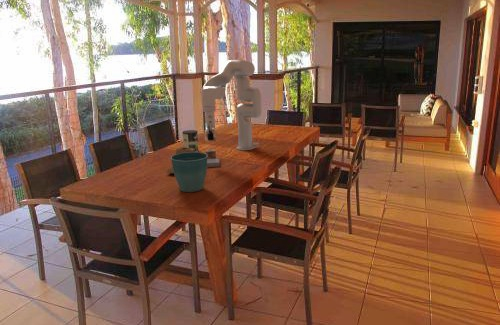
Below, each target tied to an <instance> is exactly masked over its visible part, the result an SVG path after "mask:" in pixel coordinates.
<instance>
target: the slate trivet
mask: <svg viewBox="0 0 500 325" xmlns="http://www.w3.org/2000/svg"><path fill="white" fill-rule="evenodd" d="M220 164H221V162H220V159H219V158H217V157H216V159H207V168H210V167H211V168H214V167H216V168H217V167H221V165H220Z"/></svg>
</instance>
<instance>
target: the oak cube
mask: <svg viewBox="0 0 500 325" xmlns="http://www.w3.org/2000/svg"><path fill="white" fill-rule="evenodd" d="M216 134H217V132H216V128H213V138H214V140H208V130H207V129H204V140H205V142H216V141H217V137H216V136H217V135H216Z"/></svg>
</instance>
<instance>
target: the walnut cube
mask: <svg viewBox="0 0 500 325" xmlns="http://www.w3.org/2000/svg"><path fill="white" fill-rule="evenodd" d="M205 154H207V155H208V157H207V159H217V153H216V149H215V148H211V149H210V148H209V149H205Z"/></svg>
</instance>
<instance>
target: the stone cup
mask: <svg viewBox="0 0 500 325" xmlns="http://www.w3.org/2000/svg"><path fill="white" fill-rule="evenodd" d="M186 152H194V150H193V149H192V148H184V147H181V146H180V147H176V149H175V155H176V154H179V153H186ZM166 173H167V174H173V175H174V172H173V166H171V167H168V168H167V169H166Z"/></svg>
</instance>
